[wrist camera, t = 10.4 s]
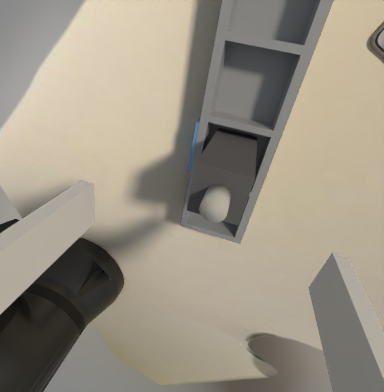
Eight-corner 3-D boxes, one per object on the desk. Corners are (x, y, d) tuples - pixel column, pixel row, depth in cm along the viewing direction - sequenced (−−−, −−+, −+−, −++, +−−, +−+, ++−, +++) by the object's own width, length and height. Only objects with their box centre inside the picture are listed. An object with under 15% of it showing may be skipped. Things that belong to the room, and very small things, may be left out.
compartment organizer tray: (185, 210, 31) (177, 224, 28) (239, -71, 17) (235, -96, 15) (242, 227, 30) (240, 243, 27) (347, -57, 16) (364, -80, 14)
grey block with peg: (210, 162, 26) (178, 225, 16) (219, 127, 24) (188, 174, 14) (245, 172, 26) (235, 243, 16) (257, 136, 23) (254, 192, 13)
